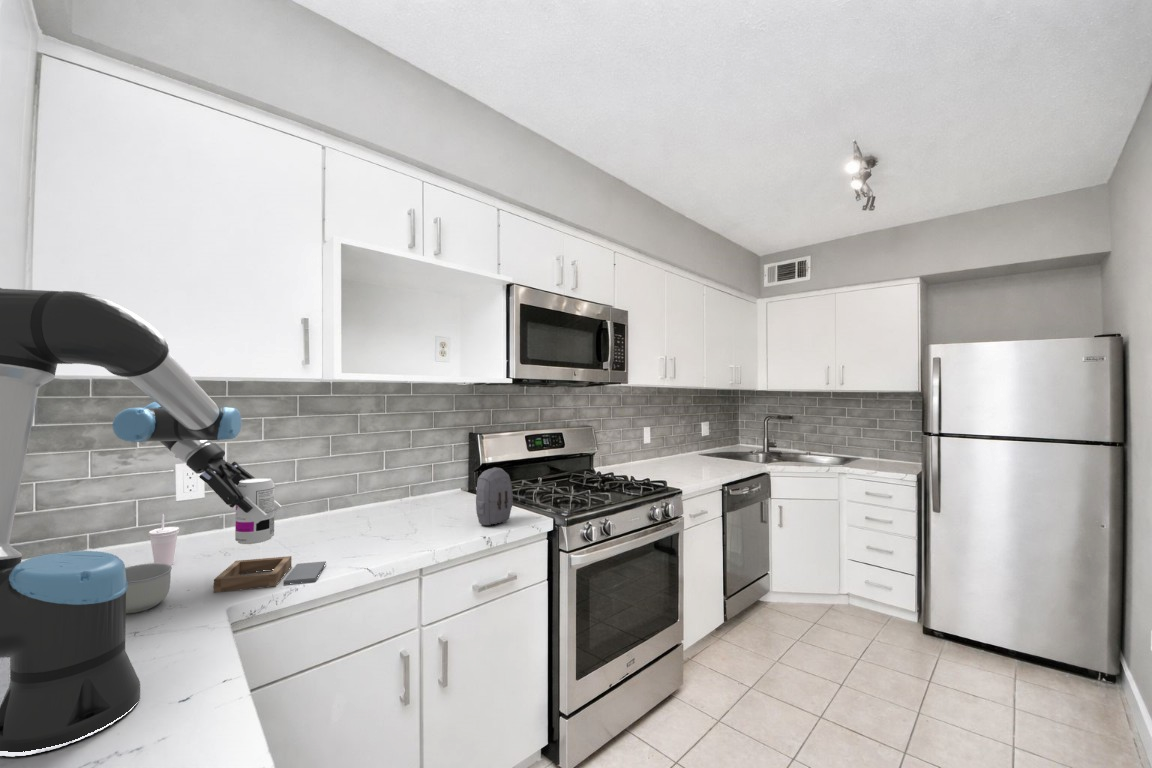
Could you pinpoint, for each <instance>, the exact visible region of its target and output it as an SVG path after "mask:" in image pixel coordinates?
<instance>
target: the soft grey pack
mask: <svg viewBox="0 0 1152 768" xmlns="http://www.w3.org/2000/svg"><path fill="white" fill-rule="evenodd" d="M513 499H514V496H513V483H512V481H511V476H510V474H509V473H508V472H506V471H505V470H504V469H503V468H501V467H492V468H488V469H487V470H484V471H482V472H481V474H479V476H478V478H477V483H476V495H475V509H476V510H475V511H476V512H475V513H476V516H477V519H478V523H479V524H480V525H482V524H483V526H492V525H491V524H495V525H498V524H497V523H499V524H502V523H504V522H507V521H508V520H510V517H511V511H512V508H513ZM501 522H502V523H501Z"/></svg>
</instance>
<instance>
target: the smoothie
mask: <svg viewBox="0 0 1152 768" xmlns="http://www.w3.org/2000/svg"><path fill="white" fill-rule="evenodd" d="M179 532H180V527H179V526H165V514H164V513H162V514H161V527H160V528H155V529H151V530H150V531H148V537H149V538H150V544H151V551H152V557H153V563H163V564H168V565H170V566H171V567H172V566H173V565H174V560H175V553H176V547H177V540H178V533H179Z"/></svg>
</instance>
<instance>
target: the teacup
mask: <svg viewBox="0 0 1152 768" xmlns="http://www.w3.org/2000/svg"><path fill="white" fill-rule="evenodd" d="M172 568H173V567H172V565H171V566H170V565H168V564H163V563H154V562H153V563H144V564H143V563H142V564H136V565H131V566H127V567H126V566H125V572H126V580H127V583H128V587H127V590H126V614H135V613H136V614H137V613H141V612H144V611H147V610H149V609H152V608H154V607H156V606H157V605H159V604H160V603H161V602H162V601H163V600H164V599H165V598H166V597H167V596H168V594H169V592H170V588H171V574H172V573H171V572H172Z"/></svg>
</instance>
